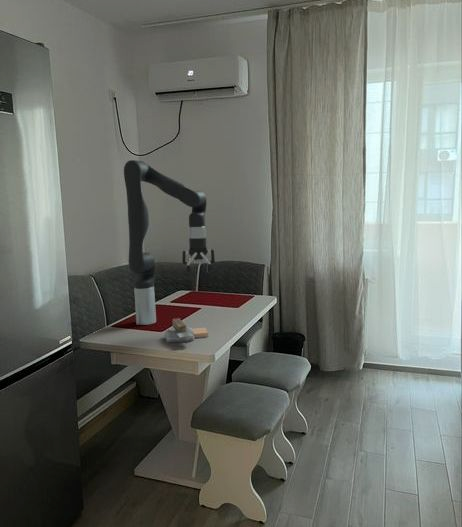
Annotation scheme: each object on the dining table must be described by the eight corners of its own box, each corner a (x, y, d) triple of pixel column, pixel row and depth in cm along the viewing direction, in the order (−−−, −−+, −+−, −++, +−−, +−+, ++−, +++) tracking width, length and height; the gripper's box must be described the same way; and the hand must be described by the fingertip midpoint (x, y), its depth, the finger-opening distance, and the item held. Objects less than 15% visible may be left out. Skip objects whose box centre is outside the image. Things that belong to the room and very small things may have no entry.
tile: (191, 332, 197) (194, 338, 189) (191, 328, 197) (193, 334, 189) (205, 331, 198) (208, 336, 190) (205, 327, 198) (208, 332, 190)
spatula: (180, 339, 177) (179, 331, 176) (170, 327, 194) (170, 319, 193) (192, 338, 179) (192, 329, 178) (182, 325, 195) (181, 317, 195)
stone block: (196, 345, 186) (192, 334, 195) (195, 335, 185) (191, 324, 194) (167, 350, 184) (164, 338, 193) (166, 339, 182) (163, 328, 191)
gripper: (181, 238, 195) (183, 275, 198) (214, 236, 197) (215, 273, 200) (180, 236, 202) (182, 272, 205) (212, 235, 205) (213, 270, 207)
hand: (198, 273), depth 202 cm, fingers open, 8 cm apart
